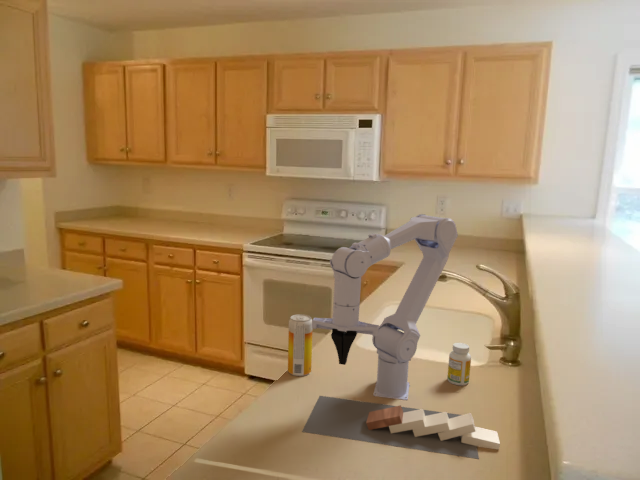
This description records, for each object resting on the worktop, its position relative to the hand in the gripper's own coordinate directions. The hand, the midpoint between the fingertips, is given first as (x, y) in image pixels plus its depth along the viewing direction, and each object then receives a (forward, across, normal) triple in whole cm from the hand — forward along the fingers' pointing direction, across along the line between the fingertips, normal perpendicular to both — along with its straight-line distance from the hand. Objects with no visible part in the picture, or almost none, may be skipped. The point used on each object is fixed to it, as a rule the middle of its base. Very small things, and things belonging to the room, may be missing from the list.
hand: (342, 362), depth 108 cm
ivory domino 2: (+9, +16, -6) cm, 20 cm away
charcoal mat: (+10, +12, -5) cm, 16 cm away
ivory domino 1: (+9, +12, -6) cm, 16 cm away
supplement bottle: (+10, +26, +22) cm, 36 cm away
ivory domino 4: (+8, +26, -6) cm, 28 cm away
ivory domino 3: (+9, +21, -6) cm, 24 cm away
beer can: (+11, -13, +15) cm, 22 cm away
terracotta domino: (+9, +7, -6) cm, 13 cm away
